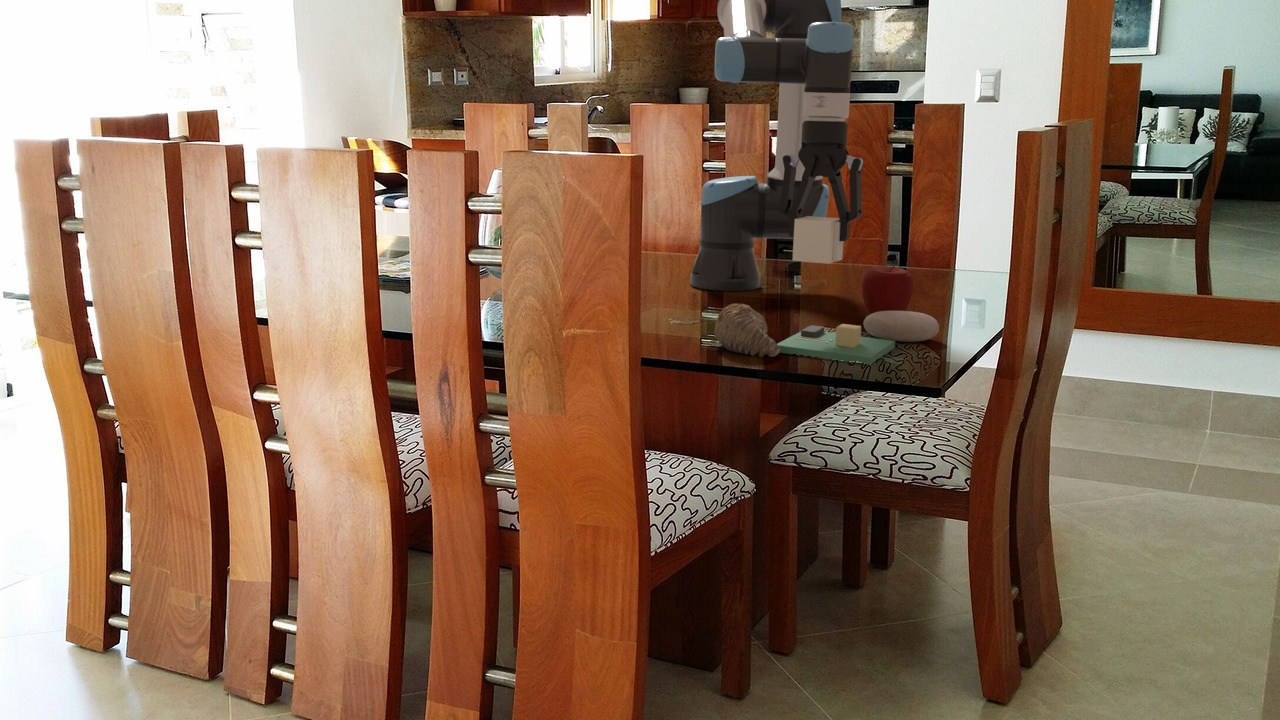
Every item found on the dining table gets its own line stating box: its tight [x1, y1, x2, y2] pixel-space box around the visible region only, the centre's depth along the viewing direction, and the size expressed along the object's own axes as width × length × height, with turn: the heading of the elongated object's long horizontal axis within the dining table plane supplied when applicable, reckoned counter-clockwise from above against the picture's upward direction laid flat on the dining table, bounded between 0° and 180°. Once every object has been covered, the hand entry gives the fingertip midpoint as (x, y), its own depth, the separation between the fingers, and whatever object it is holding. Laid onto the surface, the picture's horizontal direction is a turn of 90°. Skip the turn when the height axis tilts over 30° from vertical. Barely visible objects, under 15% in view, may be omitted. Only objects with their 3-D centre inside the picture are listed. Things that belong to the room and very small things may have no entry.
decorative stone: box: [862, 310, 940, 343], centre depth 192 cm, size 13×9×5 cm
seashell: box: [713, 303, 781, 358], centre depth 184 cm, size 14×10×10 cm
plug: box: [792, 216, 840, 265], centre depth 188 cm, size 6×7×7 cm
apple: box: [861, 265, 915, 315], centre depth 209 cm, size 10×10×10 cm
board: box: [776, 323, 896, 366], centre depth 183 cm, size 16×14×4 cm
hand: (817, 258), depth 188 cm, fingers closed on plug, 6 cm apart
